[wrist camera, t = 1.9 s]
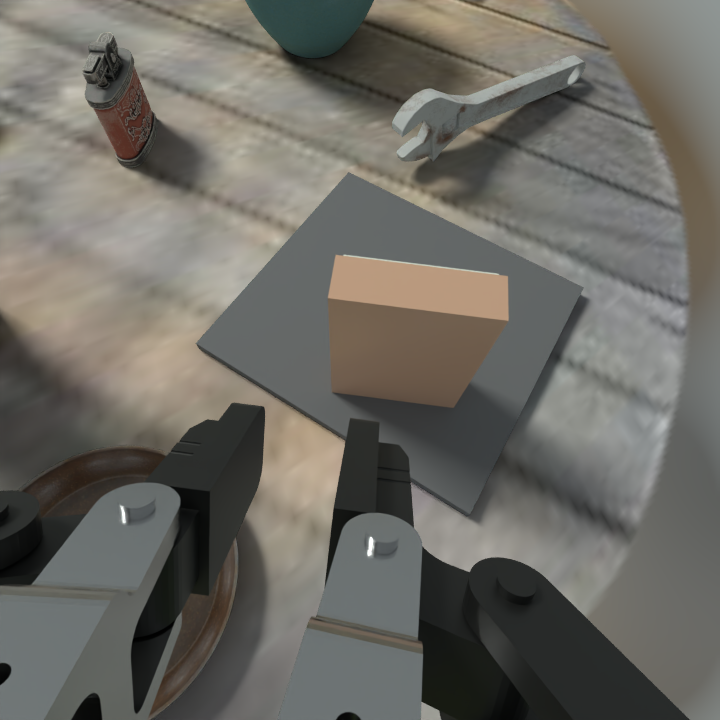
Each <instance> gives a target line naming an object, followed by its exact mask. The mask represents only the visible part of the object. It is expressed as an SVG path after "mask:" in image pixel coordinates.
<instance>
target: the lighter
mask: <svg viewBox="0 0 720 720" xmlns="http://www.w3.org/2000/svg"><path fill="white" fill-rule="evenodd" d="M88 48H89V57H88V59H87V61H86V63H85V65H84V67H83V70H82V73H83V75H84V77H85V79H86V81H87V85H86V91H85V98H86V100H87V101H88V103H89V105H90V106H91V107H92V108H94V110H95V112H96V114H97V116H98V118H99V120H100V122H101V124H102V126H103V128H104V130H105V132H106V134H107V136H108V138H109V140H110V142H111V143H112V145H113V147H114V149H115V151H116V152H115V154H116V157H117V159H118V161H119V163H120V164H121V165H122V166H124V167H136V166H139V165H141V164H142V163H143V162H144V160H145V158H146V157H147V155H148V154H149V152H150V150H151V148H152V146H153V144H154V141H155V137H156V133H157V124H158V121H157V118H156V116H155V113H154V112H153V111H152V110H151V108H150V105H149V103H148V100H147V98H146V95H145V93H144V90H143V88H142V85H141V83H140V80H139V78H138V75H137V72H136V70H135V67H134V59H133V57H132V54H131V52H130V51H129V50H127V49H124V48H117V43H116V41H115V38H114V36H113V34H112V33H108V32H104V33H101V34H100V36H99V38H98V40H97V42H92V41H91V42H90V43H89V47H88Z"/></svg>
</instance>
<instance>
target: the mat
mask: <svg viewBox="0 0 720 720" xmlns="http://www.w3.org/2000/svg"><path fill="white" fill-rule="evenodd" d="M336 255H341V256H343V255H351V256H359V257H368V258H376V259H384V260H392V261H400V262H408V263H416V264H424V265H432V266H440V267H448V268H456V269H465V270H473V271H481V272H489V273H497V274H499V275H503V276H508V313H509V321H508V323H507V324H506V326H505V327H504V329H503V331H502V332H501V334H500V335H499V337H498V338H497V340H496V342H495V343H494V345H493V346H492V348H491V350H490V351H489V353H488V354H487V356H486V357H485V359H484V361H483V362H482V364H481V365H480V367H479V369H478V370H477V372H476V373H475V375H474V376H473V378H472V380H471V381H470V383H469V384H468V386H467V388H466V389H465V391H464V392H463V394H462V395H461V397H460V399H459V400H458V402H457V403H456V405H455V407H454V408H450V407H442V406H434V405H426V404H419V403H411V402H403V401H395V400H388V399H380V398H372V397H365V396H357V395H349V394H341V393H334V392H332V386H331V362H330V338H329V314H328V294H329V289H330V283H331V278H332V272H333V267H334V261H335V256H336ZM582 290H583V287H581V286H579V285H577V284H575V283H573V282H571V281H569V280H567V279H565V278H563V277H561V276H559V275H557V274H555V273H553V272H551V271H549V270H547V269H545V268H543V267H541V266H539V265H537V264H535V263H533V262H530V261H528V260H526V259H524V258H522V257H520V256H518V255H516V254H514V253H512V252H510V251H508V250H506V249H504V248H502V247H500V246H498V245H496V244H494V243H492V242H490V241H488V240H486V239H484V238H482V237H480V236H477V235H475V234H473V233H471V232H469V231H467V230H465V229H463V228H461V227H459V226H457V225H455V224H453V223H451V222H449V221H447V220H445V219H443V218H441V217H439V216H437V215H435V214H433V213H431V212H429V211H427V210H424V209H422V208H420V207H418V206H416V205H414V204H412V203H410V202H408V201H406V200H404V199H402V198H400V197H398V196H396V195H394V194H392V193H390V192H388V191H386V190H384V189H382V188H380V187H378V186H376V185H374V184H372V183H369V182H367V181H365V180H363V179H361V178H359V177H357V176H355V175H353V174H351V173H349V172H348V174H347V175H346V176H345V177H344V178H343V179H342V180H341V181H340V183H339V184H338V185H337V186H336V187H335V188H334V189H333V190H332V192H331V193H330V194H329V195H328V196H327V197H326V198H325V199H324V200H323V202H322V203H321V204H320V205H319V206H318V207H317V208H316V209H315V211H314V212H313V213H312V214H311V215H310V216H309V217H308V218H307V220H306V221H305V222H304V223H303V224H302V225H301V226H300V227H299V228H298V230H297V231H296V232H295V233H294V234H293V235H292V236H291V237H290V239H289V240H288V241H287V242H286V243H285V244H284V245H283V246H282V248H281V249H280V250H279V251H278V252H277V253H276V254H275V255H274V256H273V258H272V259H271V260H270V261H269V262H268V263H267V264H266V265H265V267H264V268H263V269H262V270H261V271H260V272H259V273H258V274H257V276H256V277H255V278H254V279H253V280H252V281H251V282H250V283H249V284H248V286H247V287H246V288H245V289H244V290H243V291H242V292H241V293H240V295H239V296H238V297H237V298H236V299H235V300H234V301H233V302H232V304H231V305H230V306H229V307H228V308H227V309H226V310H225V311H224V312H223V314H222V315H221V316H220V317H219V318H218V319H217V320H216V321H215V323H214V324H213V325H212V326H211V327H210V328H209V329H208V330H207V332H206V333H205V334H204V335H203V336H202V337H201V338H200V339H199V341H198V342H197V343H196V344H197V346H198V348H199V349H200V350H202V351H204V352H205V353H207V354H208V355H210V356H212V357H213V358H215V359H216V360H218V361H220V362H221V363H223V364H224V365H226V366H228V367H229V368H231V369H232V370H234V371H236V372H237V373H239V374H240V375H242V376H244V377H245V378H247V379H248V380H250V381H252V382H253V383H255V384H256V385H258V386H260V387H261V388H263V389H264V390H266V391H268V392H269V393H271V394H272V395H274V396H276V397H277V398H279V399H280V400H282V401H284V402H285V403H287V404H288V405H290V406H292V407H293V408H295V409H296V410H298V411H300V412H301V413H303V414H304V415H306V416H308V417H309V418H311V419H312V420H314V421H316V422H317V423H319V424H320V425H322V426H324V427H325V428H327V429H328V430H330V431H332V432H333V433H335V434H336V435H338V436H340V437H341V438H343V439H344V440H346V437H347V432H348V426H349V421H350V418H355V419H362V420H370V421H378V422H380V425H379V442H382V443H390V444H397V445H400V446H401V448H402V449H403V450H404V452H405V453H406V454H407V456H408V457H409V466H410V480H411V482H413V483H415V484H416V485H418V486H419V487H421V488H423V489H424V490H426V491H427V492H429V493H431V494H432V495H434V496H435V497H437V498H439V499H440V500H442V501H443V502H445V503H447V504H448V505H450V506H451V507H453V508H455V509H456V510H458V511H459V512H461V513H463V514H464V515H466V516H468V515H470V513H471V511H472V509H473V507H474V505H475V503H476V501H477V499H478V497H479V495H480V493H481V491H482V490H483V488H484V486H485V484H486V482H487V480H488V478H489V476H490V474H491V472H492V470H493V468H494V466H495V464H496V462H497V460H498V458H499V456H500V454H501V452H502V450H503V448H504V446H505V444H506V442H507V440H508V438H509V436H510V434H511V432H512V430H513V428H514V426H515V424H516V422H517V420H518V418H519V416H520V414H521V412H522V410H523V408H524V406H525V404H526V402H527V400H528V398H529V396H530V394H531V392H532V390H533V388H534V386H535V384H536V382H537V380H538V378H539V376H540V374H541V372H542V370H543V368H544V366H545V364H546V362H547V360H548V358H549V356H550V354H551V352H552V350H553V348H554V346H555V344H556V342H557V340H558V338H559V336H560V334H561V332H562V330H563V328H564V326H565V324H566V322H567V320H568V318H569V316H570V314H571V312H572V310H573V308H574V306H575V304H576V302H577V300H578V298H579V296H580V294H581V292H582Z"/></svg>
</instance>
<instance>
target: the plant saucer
mask: <svg viewBox="0 0 720 720" xmlns="http://www.w3.org/2000/svg"><path fill="white" fill-rule="evenodd" d="M167 455H168V452H164V451H162V450H158V449H154V448H148V447H141V446H112V447H105V448H99V449H95V450H91V451H87V452H84V453H81V454H78V455H75V456H73V457H70V458H68V459H66V460H63V461H61V462H59V463H57V464H55V465H54V466H52V467H50V468H48V469H47V470H45V471H43V472H42V473H40V474H39V475H38V476H36V477H34V478H33V479H32V480H30V481H29V482H28V483H26V484H25V485H24V486H23V487H22V488H20V489H19V490H18V491H21V492H25V493H28V494H31V495H33V496H34V497H35V498H36V499H37V500H38V502H39V505H40V513H41V518H42V517H55V516H67V515H79V514H87V513H88V512H89V511H90V510H91V508H92V507H93V506H94V504H95V503H96V502H97V501H98V500H99V499H100V498H101V497H103V496H104V495H105V494H107V493H109V492H110V491H112V490H115V489H117V488H120V487H122V486H126V485H130V484H135V483H144V481H145V480H146V479H147V478H148V477H149V476H150V474H151V473H152V472H153V471H154V470H155V469H156V467H157V466H158V465H159V464H160V463H161V462H162V460H163V459H164V458H165V457H166V456H167ZM237 579H238V547H237V540H236V537H235V539H234V541H233V544H232V546H231V548H230V550H229V553H228V555H227V557H226V559H225V561H224V564H223V566H222V568H221V570H220V572H219V575H218V577H217V579H216V581H215V583H214V586H213V588H212V590H211V592H210V594H209V596H206V595H199V594H192V593H191V594H190V596H189V598H188V600H187V602H186V604H185V606H184V608H183V610H182V625H181V629H180V632H179V635H178V637H177V640H176V643H175V646H174V648H173V651H172V654H171V657H170V659H169V662H168V665H167V667H166V670H165V673H164V676H163V678H162V681H161V684H160V687H159V689H158V692H157V695H156V698H155V700H154V703H153V706H152V708H151V711H150V714H149V717H148V719H147V720H151V719H153V718H154V717H155V716H157V715H158V714H159V713H160V712H162V711H163V710H164V709H166V708H167V707H168V706H169V705H170V704H171V703H173V702H174V701H175V700H176V699H177V698H178V697H179V696H180V695H181V694H182V693H183V692H184V691H185V690H186V689H187V688H188V687H189V685H190V684H191V683H192V682H193V681H194V679H195V678H196V677H197V676H198V674H199V673H200V672H201V670H202V669H203V667H204V666H205V664H206V663H207V661H208V660H209V658H210V657H211V655H212V653H213V651H214V650H215V648H216V646H217V644H218V642H219V640H220V638H221V636H222V634H223V631H224V629H225V627H226V624H227V622H228V619H229V616H230V613H231V609H232V606H233V602H234V597H235V592H236V586H237Z"/></svg>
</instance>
